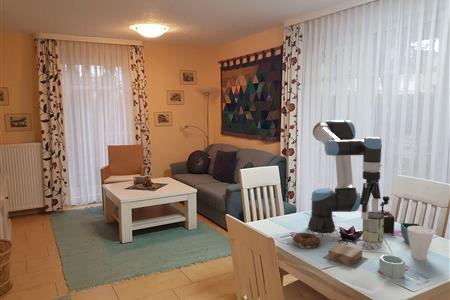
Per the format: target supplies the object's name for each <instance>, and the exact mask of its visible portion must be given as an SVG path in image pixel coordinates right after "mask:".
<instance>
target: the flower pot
mask: <svg viewBox="0 0 450 300" xmlns="http://www.w3.org/2000/svg"><path fill="white" fill-rule="evenodd" d="M409 226H421V225H420V224H419V223H410V222H400V232H401V233H400V234H401V236H402V238H403V240H404V241H405V243H406V244H408V245H410V243H409V239H408V231H407V228H408V227H409Z"/></svg>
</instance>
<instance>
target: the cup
mask: <svg viewBox="0 0 450 300" xmlns="http://www.w3.org/2000/svg"><path fill="white" fill-rule="evenodd" d="M407 231H408V239H409V243H410V244H409V247H410V255H411V257H412V259H415V260H417V261H426V260H427V257H428V251H429V249H430V246H431V244H432V240H433V237H434V230H433V229H432V228H430V227H427V226H426V227H425V226H422V225H420V226H409V227H408V228H407Z"/></svg>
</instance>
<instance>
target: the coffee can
mask: <svg viewBox="0 0 450 300" xmlns="http://www.w3.org/2000/svg"><path fill="white" fill-rule="evenodd" d="M383 224H384V215H383V214H381V213H377V212H372V211H368V220H367V219H362V232H361V233H362V237H361V240H362V241H364V242H366V243H368V244H376V245H377V244H378V245H379V244H382V243H383V242H384V233H383Z"/></svg>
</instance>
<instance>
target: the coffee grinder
mask: <svg viewBox="0 0 450 300" xmlns="http://www.w3.org/2000/svg"><path fill="white" fill-rule="evenodd" d="M390 199H391V198H390V196H388V195H387V196H386V195H384V196H382V200H383V201H382V202H381V204H379V206H380V207H381V209H380V210H378V213H381V214H383V215H384V224H383V234H390V235H391V234H395V217H394V215H393V214H392V213H391V212H390V210H388V211H387V210H384V206H387V205H389V201H390Z"/></svg>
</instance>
